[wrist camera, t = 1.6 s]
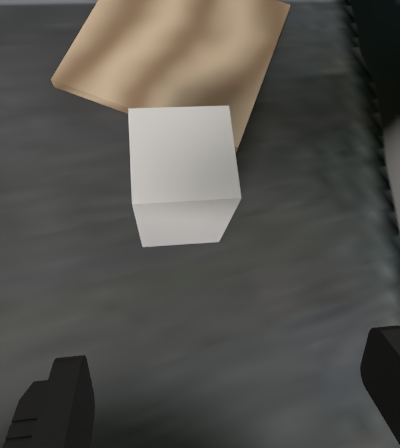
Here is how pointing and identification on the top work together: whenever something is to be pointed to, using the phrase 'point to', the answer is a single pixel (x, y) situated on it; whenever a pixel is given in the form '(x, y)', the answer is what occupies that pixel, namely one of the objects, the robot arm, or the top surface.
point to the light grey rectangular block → (182, 173)
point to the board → (174, 54)
